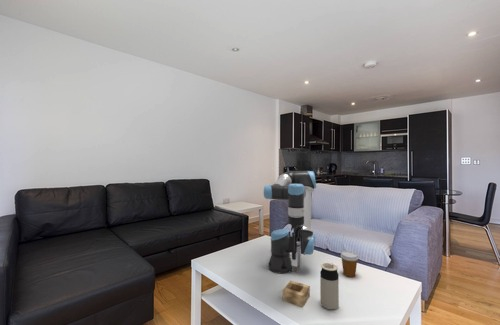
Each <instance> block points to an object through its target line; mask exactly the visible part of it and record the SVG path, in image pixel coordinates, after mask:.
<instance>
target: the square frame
mask: <svg viewBox="0 0 500 325" xmlns="http://www.w3.org/2000/svg"><path fill="white" fill-rule="evenodd" d="M310 288H311V285H308V284H305V283H301V282H298V281H295V280H290V281H289V282H288V283H287V284H286V285H285V286H284V287H283V289H282V301H284V302H288V303H290V304H293V305H296V306H299V307H302V308H304V306H305V304H306V303H307V301H308V299H309V298H310V294H311V289H310Z"/></svg>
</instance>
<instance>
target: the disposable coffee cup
mask: <svg viewBox="0 0 500 325" xmlns="http://www.w3.org/2000/svg"><path fill="white" fill-rule="evenodd" d="M340 258H341V264H342V272H343V275H344V276H345V277H347V278H355V277H356V273H357V264H358V260H359V256H358V254H357V253H356V252H352V251H341V253H340Z"/></svg>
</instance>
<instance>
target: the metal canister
mask: <svg viewBox="0 0 500 325" xmlns="http://www.w3.org/2000/svg"><path fill="white" fill-rule="evenodd" d="M301 260H302V254H301V241H299V240H297V261H298V266H297V267H296V266H292V272H294V273H300V272H301V271H302V270H301V265H302V264H301V263H302V261H301Z"/></svg>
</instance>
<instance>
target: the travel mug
mask: <svg viewBox="0 0 500 325" xmlns="http://www.w3.org/2000/svg"><path fill="white" fill-rule="evenodd" d="M320 267H321V270H320V274H319V275H320V276H319V277H320V278H319V279H320V288H319V289H320V291H319V292H320V294H319V295H320V305H321V306H322V307H323V308H325V309H328V310H337V309H338V308H339V304H340V299H339V297H340V296H339V292H340V291H339V290H340V289H339V288H340V287H339V286H340V285H339V284H340V283H339V275H340V274H339V273H338V269H339V267H338V265H336V264H335V263H333V262H322V263H321V264H320Z"/></svg>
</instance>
